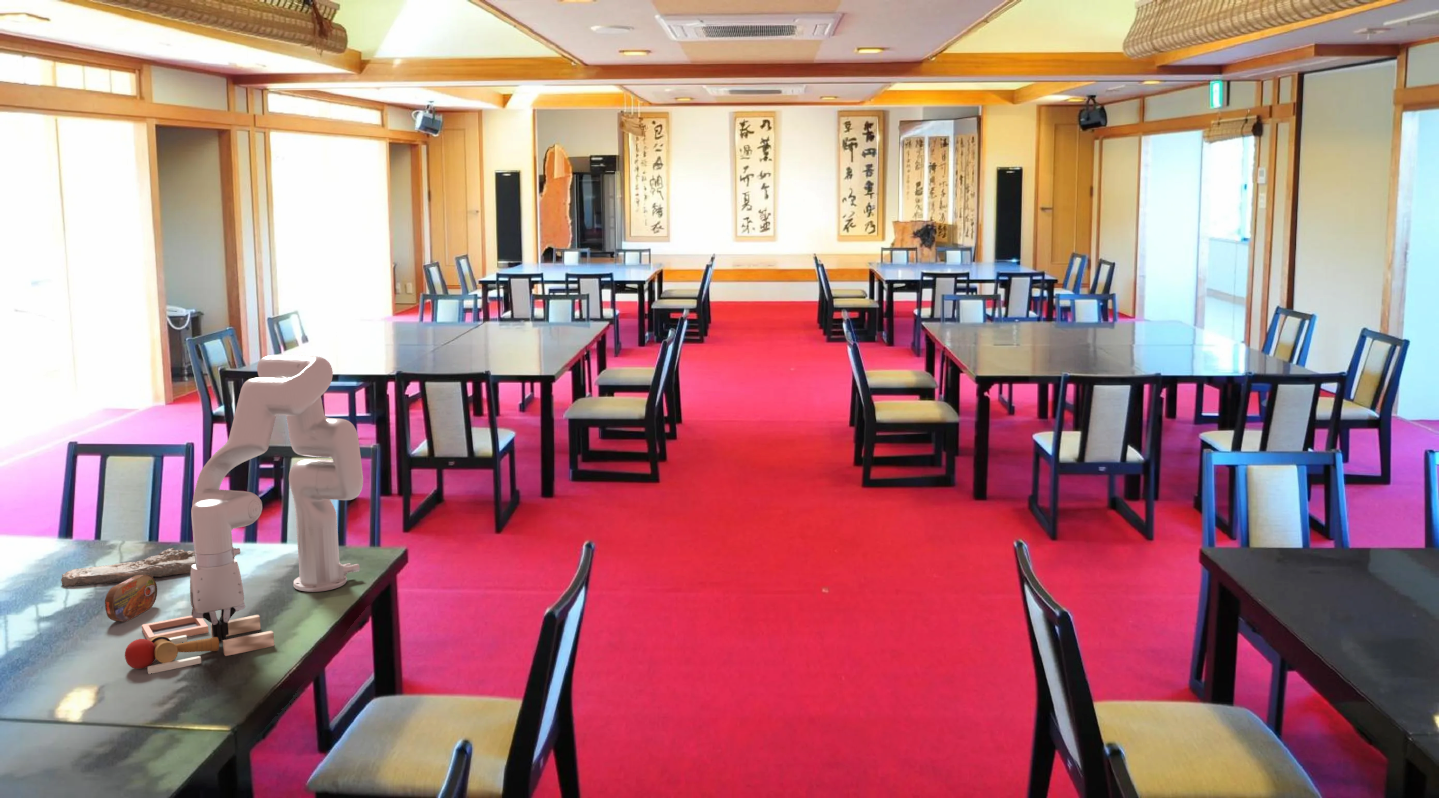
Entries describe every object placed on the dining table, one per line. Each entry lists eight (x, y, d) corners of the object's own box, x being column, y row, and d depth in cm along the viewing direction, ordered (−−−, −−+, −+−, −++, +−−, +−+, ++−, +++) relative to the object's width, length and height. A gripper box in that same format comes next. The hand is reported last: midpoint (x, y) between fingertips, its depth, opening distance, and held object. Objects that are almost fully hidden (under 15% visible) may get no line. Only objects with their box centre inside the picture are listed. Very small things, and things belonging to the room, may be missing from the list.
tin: (116, 627, 269) (112, 591, 268) (103, 626, 270) (100, 590, 268) (159, 604, 284) (156, 570, 282) (148, 603, 284) (145, 569, 283)
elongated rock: (64, 584, 302) (62, 598, 293) (60, 564, 300) (58, 578, 292) (214, 558, 316) (216, 572, 307) (211, 540, 315) (213, 552, 306)
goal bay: (186, 639, 262) (185, 634, 261) (201, 663, 249) (200, 657, 249) (135, 649, 256) (135, 644, 256) (148, 674, 244) (148, 668, 244)
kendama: (209, 649, 260) (119, 658, 248) (213, 623, 258) (122, 631, 247) (220, 666, 254) (127, 677, 243) (224, 640, 253) (131, 649, 241)
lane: (258, 627, 269) (258, 614, 269) (274, 645, 259) (273, 632, 258) (211, 636, 264) (210, 623, 263) (225, 655, 253) (224, 642, 252)
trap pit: (199, 620, 273) (199, 613, 273) (208, 632, 266) (208, 626, 266) (142, 631, 267) (141, 624, 266) (149, 644, 259) (149, 637, 259)
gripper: (246, 546, 262) (252, 626, 266) (172, 559, 254) (180, 641, 257) (255, 555, 256) (261, 637, 260) (180, 568, 248) (187, 652, 251)
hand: (220, 638), depth 258 cm, fingers closed
